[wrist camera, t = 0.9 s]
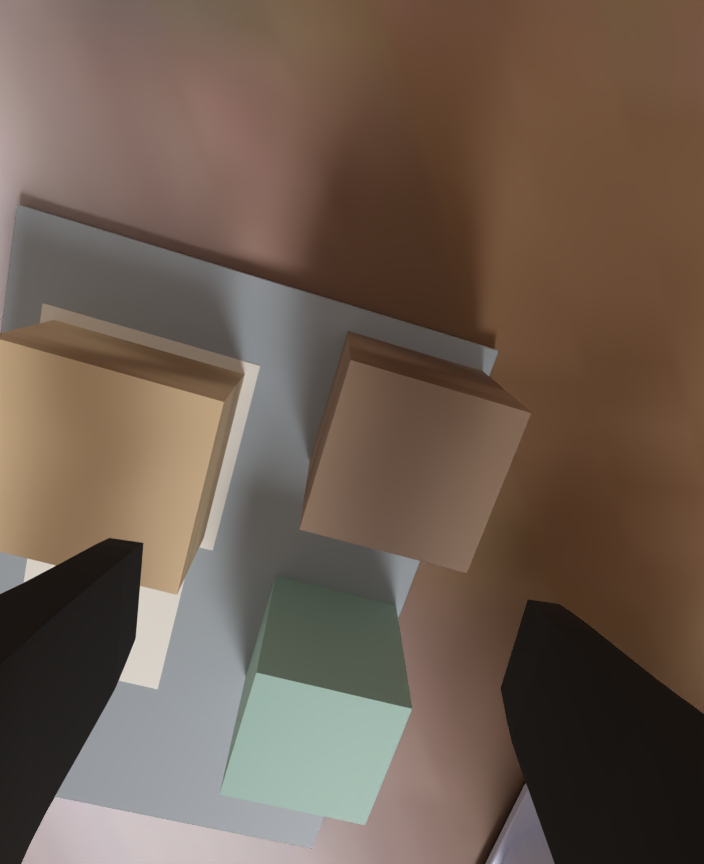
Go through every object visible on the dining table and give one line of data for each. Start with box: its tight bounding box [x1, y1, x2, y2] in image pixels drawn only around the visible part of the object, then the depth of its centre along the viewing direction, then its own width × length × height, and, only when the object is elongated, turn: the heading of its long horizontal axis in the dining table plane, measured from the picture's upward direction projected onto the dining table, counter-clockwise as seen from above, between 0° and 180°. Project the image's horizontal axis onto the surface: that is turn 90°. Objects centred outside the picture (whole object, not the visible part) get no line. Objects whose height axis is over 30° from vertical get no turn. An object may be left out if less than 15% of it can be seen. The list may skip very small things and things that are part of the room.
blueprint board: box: [0, 205, 498, 849], centre depth 21 cm, size 15×22×1 cm
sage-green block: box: [219, 576, 412, 825], centre depth 19 cm, size 4×4×5 cm
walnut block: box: [299, 331, 531, 573], centre depth 17 cm, size 4×4×5 cm
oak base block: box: [0, 320, 245, 595], centre depth 18 cm, size 6×6×4 cm
